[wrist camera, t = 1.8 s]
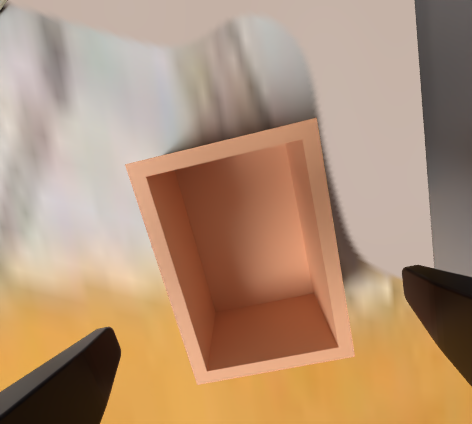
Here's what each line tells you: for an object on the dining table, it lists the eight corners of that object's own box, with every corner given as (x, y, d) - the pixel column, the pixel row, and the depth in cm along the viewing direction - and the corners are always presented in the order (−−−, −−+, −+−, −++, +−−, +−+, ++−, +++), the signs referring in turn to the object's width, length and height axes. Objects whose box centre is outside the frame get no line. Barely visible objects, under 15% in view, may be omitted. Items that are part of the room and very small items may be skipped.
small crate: (322, 294, 17) (354, 356, 12) (209, 317, 18) (197, 384, 13) (292, 124, 15) (316, 117, 10) (162, 156, 15) (125, 164, 10)
